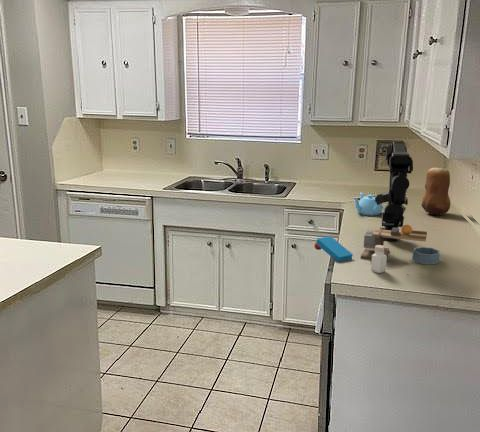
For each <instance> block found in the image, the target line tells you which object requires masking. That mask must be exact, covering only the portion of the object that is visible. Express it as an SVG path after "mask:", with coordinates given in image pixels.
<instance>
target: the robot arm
mask: <svg viewBox="0 0 480 432" xmlns="http://www.w3.org/2000/svg"><path fill="white" fill-rule="evenodd" d="M385 161H386V165H387V166H388V168H389V185H388V192H387V191H386V192H384V193H378V194H377V195H375V196H374V197H375V202H376V204H377V205H379V204H381V203H382V204H384V203H387V205H386V206H385V207H383V212H381V227H384V228H385V229H384V230H390V231H391V230H392V228H402V227H403V226H404V220H405V216H404V213H405V212H406V209H407V207H405V206H408V204H409V199H408V198H407V192H408V189H409V188H410V180H409V178H408V174H412V172H413V171H414V160H413V159H412V156H411V155H410V153H409V152H408V147H406V146H405V142H403V141H393V142H392V141H391V144H390V145H389V146H387V147H386V149H385ZM404 205H405V206H404ZM384 241H388V242H389V241H390V242H399V239H395V238H385V237H384Z"/></svg>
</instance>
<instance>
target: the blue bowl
mask: <svg viewBox="0 0 480 432" xmlns="http://www.w3.org/2000/svg"><path fill="white" fill-rule="evenodd" d="M440 253H441V252H440V249H436V248H433V247H427V246H426V247H425V246H421V247H418V246H417V247H414V248H413V252H412V259H411V260H412V261H413V262H415V263H418V264H422V265H437V264H439V263H440Z"/></svg>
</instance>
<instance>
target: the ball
mask: <svg viewBox="0 0 480 432" xmlns="http://www.w3.org/2000/svg"><path fill="white" fill-rule="evenodd" d="M400 229H401V230H400V232H402V233H403V234H406V235H409V234H411V232H412V230H413V227H412V226H411V225H409V224H403V226H402V227H400Z"/></svg>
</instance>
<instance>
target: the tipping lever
mask: <svg viewBox="0 0 480 432" xmlns="http://www.w3.org/2000/svg"><path fill="white" fill-rule="evenodd" d="M376 234H378V235H381V237H385V238H395V239H398V240H405V241H413V242H414V241H417V242H426V240H427V235H428V232H427V231H424V230H414V229H412V232H411V234H409V235H406V234H403V233H402V231H401V230H400V227H398V228H392V230H391V231H390V230H383V229H381V230H380V228H378V229H377V228H375V229H374V230H369V229H368V230H367V231H366V232H365V233H364V236H363V248H364V249H365V248H372V249H374V248H375V244H376Z"/></svg>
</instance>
